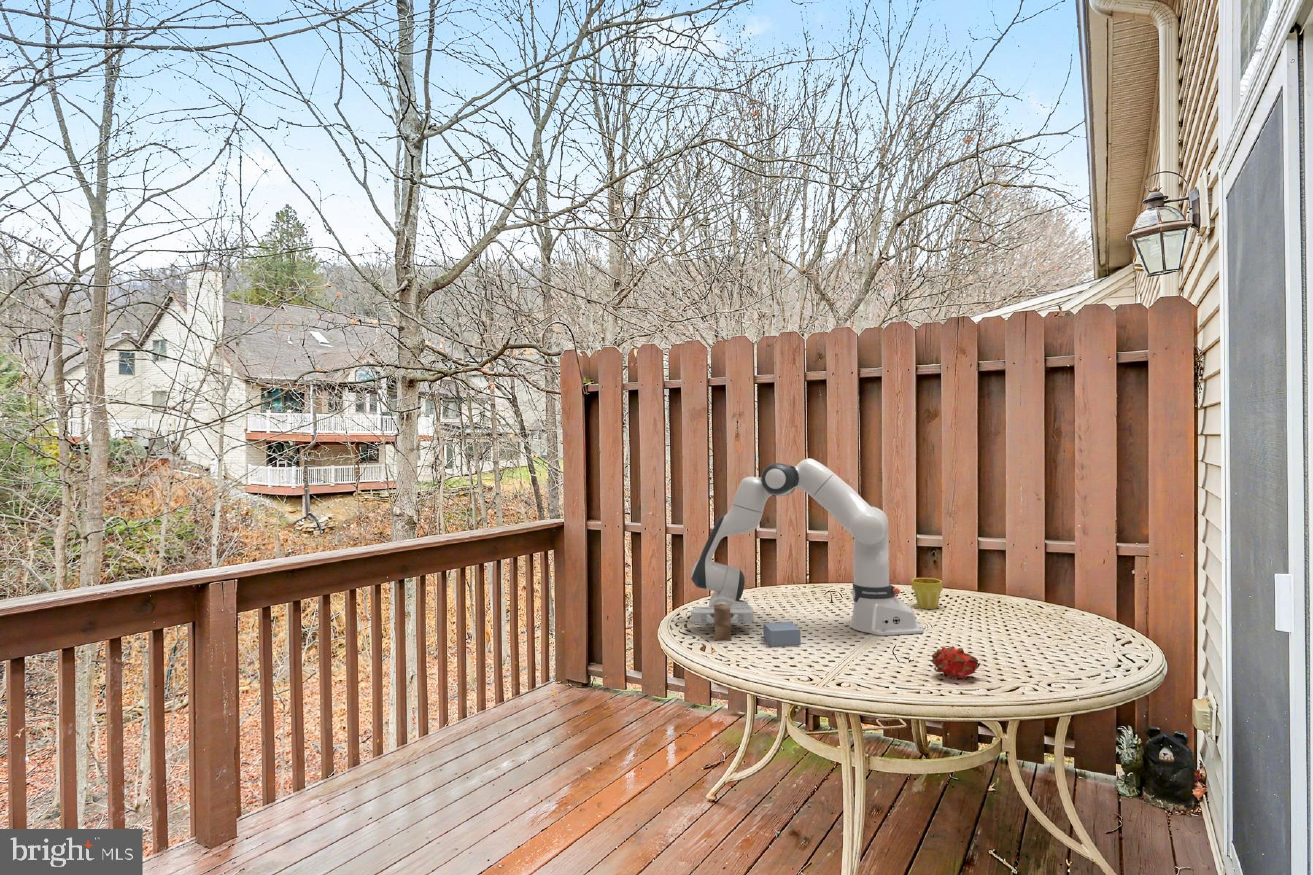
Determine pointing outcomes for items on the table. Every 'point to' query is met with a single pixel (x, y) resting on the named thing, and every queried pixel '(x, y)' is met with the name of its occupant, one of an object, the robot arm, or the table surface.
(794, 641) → the slate block
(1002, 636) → the table surface
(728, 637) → the walnut block
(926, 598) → the plant pot
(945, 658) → the dragon fruit
